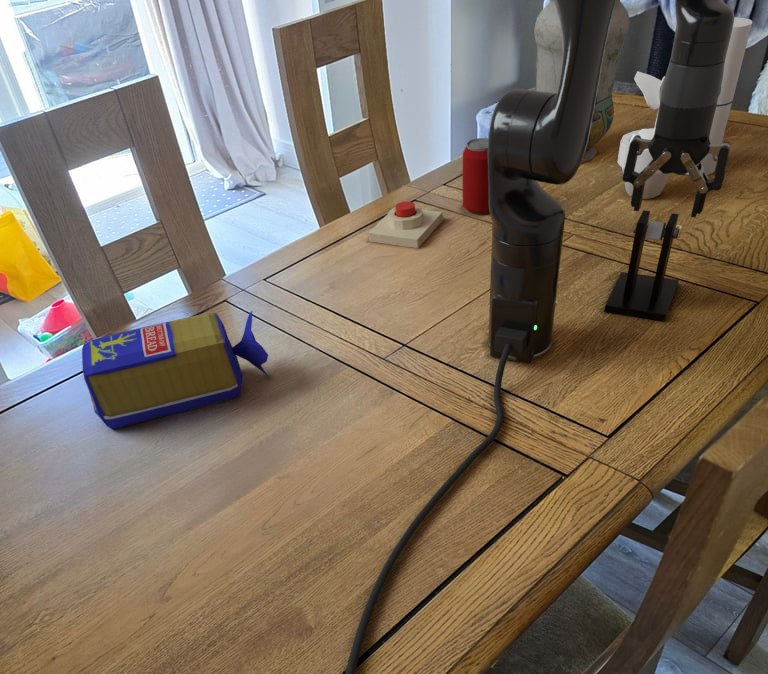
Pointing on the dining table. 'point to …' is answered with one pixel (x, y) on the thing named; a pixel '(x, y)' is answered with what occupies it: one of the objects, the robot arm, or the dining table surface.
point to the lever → (656, 230)
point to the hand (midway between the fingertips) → (665, 212)
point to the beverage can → (476, 176)
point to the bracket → (645, 279)
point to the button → (405, 209)
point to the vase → (551, 66)
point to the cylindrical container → (728, 86)
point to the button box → (406, 228)
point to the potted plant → (653, 97)
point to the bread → (166, 368)
